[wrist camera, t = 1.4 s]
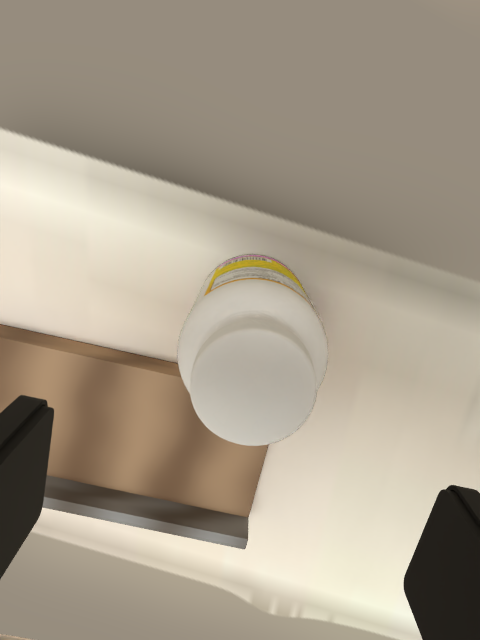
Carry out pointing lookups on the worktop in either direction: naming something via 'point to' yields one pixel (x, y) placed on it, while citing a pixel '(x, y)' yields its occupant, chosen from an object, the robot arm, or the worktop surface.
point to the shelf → (130, 440)
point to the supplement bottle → (252, 352)
